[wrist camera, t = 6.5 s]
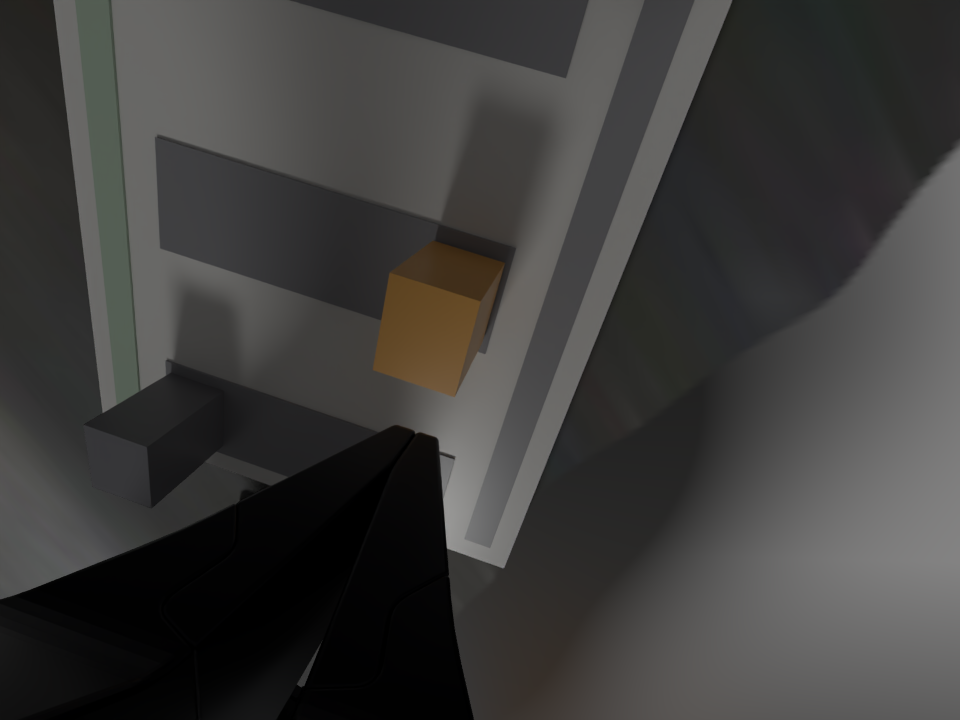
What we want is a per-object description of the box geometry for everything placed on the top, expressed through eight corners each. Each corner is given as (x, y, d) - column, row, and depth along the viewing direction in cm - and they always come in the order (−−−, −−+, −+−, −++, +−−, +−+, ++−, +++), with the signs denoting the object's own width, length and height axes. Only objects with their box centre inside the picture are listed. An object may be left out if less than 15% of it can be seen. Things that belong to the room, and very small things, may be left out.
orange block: (482, 342, 18) (454, 397, 14) (415, 321, 18) (372, 370, 15) (505, 262, 17) (480, 301, 13) (433, 240, 17) (389, 272, 13)
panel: (510, 536, 25) (485, 658, 19) (138, 405, 26) (12, 484, 20) (756, -88, 14) (870, -236, 8) (85, -258, 15) (-221, -486, 9)
